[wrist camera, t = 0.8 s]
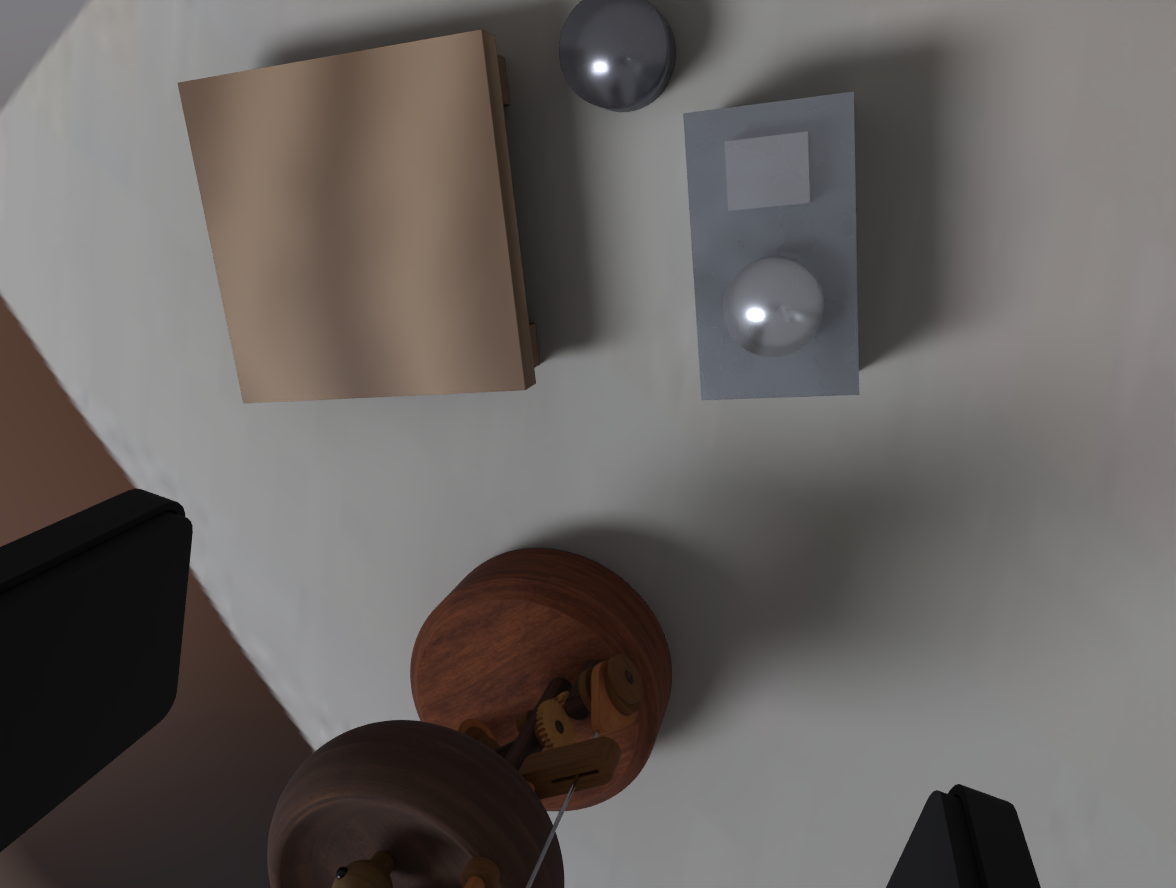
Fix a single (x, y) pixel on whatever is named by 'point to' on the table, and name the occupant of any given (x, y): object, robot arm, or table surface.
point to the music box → (486, 737)
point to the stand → (366, 222)
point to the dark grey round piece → (617, 53)
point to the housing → (775, 247)
